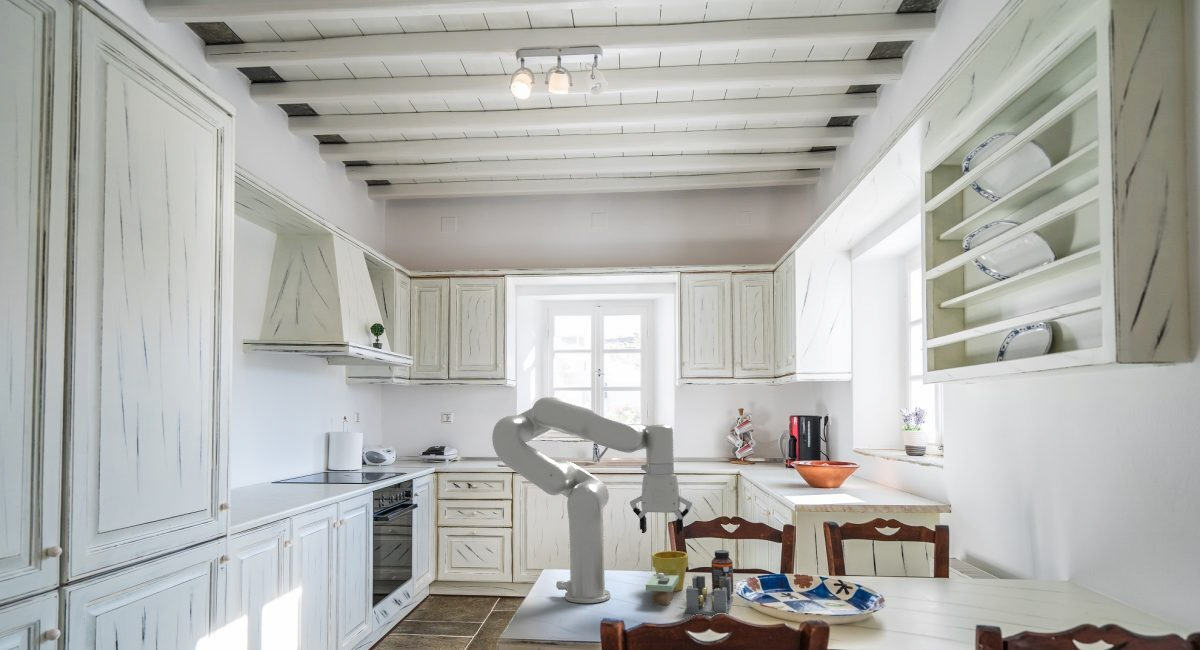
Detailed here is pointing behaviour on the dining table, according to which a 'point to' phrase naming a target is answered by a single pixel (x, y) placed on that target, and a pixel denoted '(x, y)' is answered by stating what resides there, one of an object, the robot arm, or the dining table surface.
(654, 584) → the board
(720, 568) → the supplement bottle
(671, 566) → the plant pot
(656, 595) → the wooden block
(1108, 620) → the dining table surface
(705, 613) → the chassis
